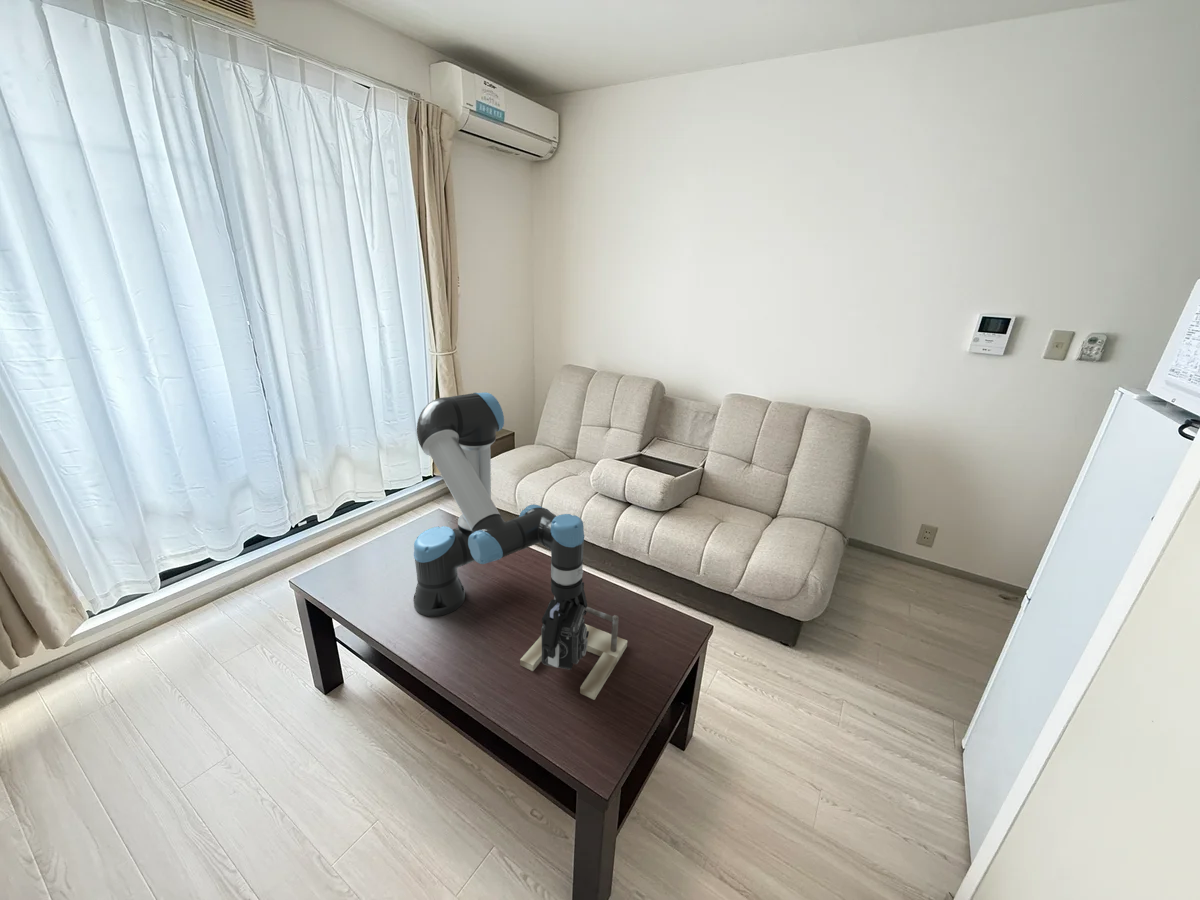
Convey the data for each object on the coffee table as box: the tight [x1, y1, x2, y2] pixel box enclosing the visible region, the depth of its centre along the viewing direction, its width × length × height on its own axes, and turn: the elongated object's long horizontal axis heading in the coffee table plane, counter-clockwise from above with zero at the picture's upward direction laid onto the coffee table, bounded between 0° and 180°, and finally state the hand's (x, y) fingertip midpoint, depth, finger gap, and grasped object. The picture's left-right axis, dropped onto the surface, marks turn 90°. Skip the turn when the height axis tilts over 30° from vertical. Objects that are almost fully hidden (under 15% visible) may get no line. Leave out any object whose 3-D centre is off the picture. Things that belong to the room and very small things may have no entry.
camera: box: [541, 598, 589, 671], centre depth 116 cm, size 10×10×15 cm
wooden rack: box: [519, 595, 628, 701], centre depth 123 cm, size 22×20×13 cm
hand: (565, 649), depth 118 cm, fingers closed on camera, 11 cm apart
